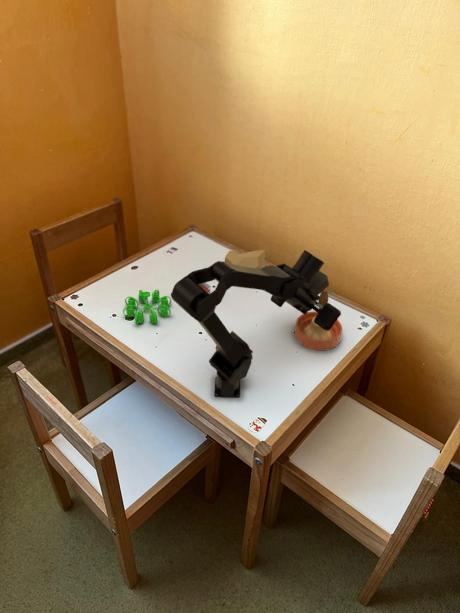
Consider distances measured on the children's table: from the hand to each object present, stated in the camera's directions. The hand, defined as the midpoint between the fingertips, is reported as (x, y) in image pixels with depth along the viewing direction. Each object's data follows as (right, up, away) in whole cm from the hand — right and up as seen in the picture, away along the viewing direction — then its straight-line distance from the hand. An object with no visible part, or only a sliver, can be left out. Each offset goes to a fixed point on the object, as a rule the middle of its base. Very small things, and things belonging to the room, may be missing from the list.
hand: (319, 311), depth 130 cm
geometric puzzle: (-34, +5, +20) cm, 40 cm away
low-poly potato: (-20, +12, +30) cm, 38 cm away
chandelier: (-50, 0, +13) cm, 51 cm away
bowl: (+1, -7, +7) cm, 10 cm away
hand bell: (+1, -7, +7) cm, 10 cm away
